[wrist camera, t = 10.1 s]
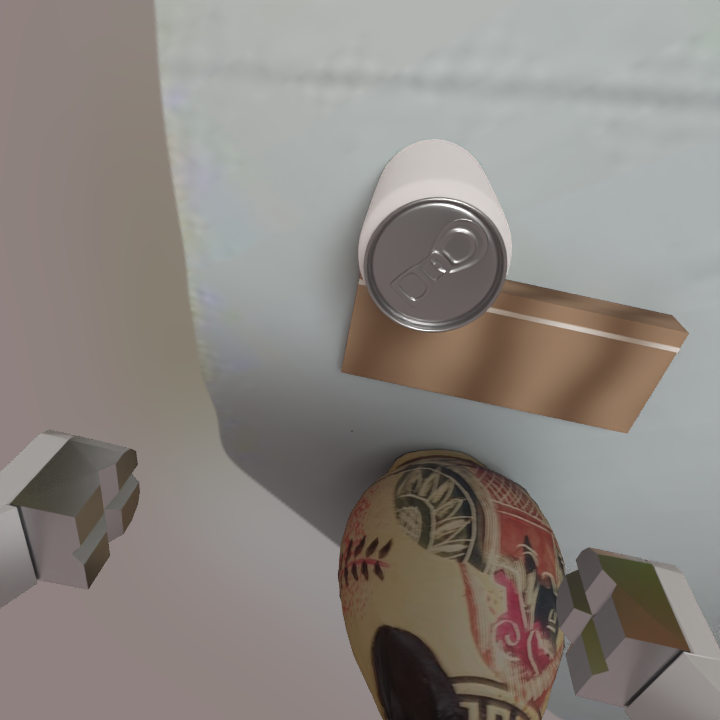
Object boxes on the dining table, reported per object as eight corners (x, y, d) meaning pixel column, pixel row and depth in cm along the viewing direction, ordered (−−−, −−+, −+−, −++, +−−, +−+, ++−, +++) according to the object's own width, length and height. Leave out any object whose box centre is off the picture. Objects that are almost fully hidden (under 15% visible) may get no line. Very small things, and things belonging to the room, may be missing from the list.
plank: (672, 315, 32) (689, 334, 30) (615, 412, 36) (627, 434, 34) (366, 249, 32) (362, 263, 30) (345, 354, 36) (340, 372, 34)
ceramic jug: (578, 497, 41) (828, 1219, 16) (432, 568, 48) (442, 1155, 22) (445, 363, 36) (495, 1120, 10) (302, 464, 42) (120, 1075, 17)
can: (509, 196, 29) (554, 273, 19) (426, 269, 32) (427, 368, 22) (435, 110, 28) (442, 145, 17) (354, 195, 30) (319, 267, 20)
